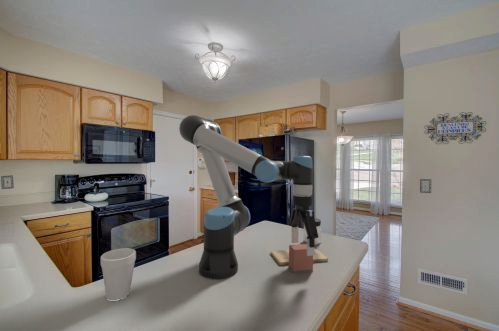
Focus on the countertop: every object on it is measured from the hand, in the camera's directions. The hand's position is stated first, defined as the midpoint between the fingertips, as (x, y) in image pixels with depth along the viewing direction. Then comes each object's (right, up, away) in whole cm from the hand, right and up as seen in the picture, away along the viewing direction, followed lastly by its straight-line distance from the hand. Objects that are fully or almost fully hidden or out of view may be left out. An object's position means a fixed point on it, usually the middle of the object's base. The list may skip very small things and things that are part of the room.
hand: (302, 248), depth 90 cm
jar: (+13, -8, +32) cm, 35 cm away
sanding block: (-1, -8, 0) cm, 8 cm away
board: (+1, -8, +11) cm, 14 cm away
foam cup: (-62, -8, -19) cm, 65 cm away
